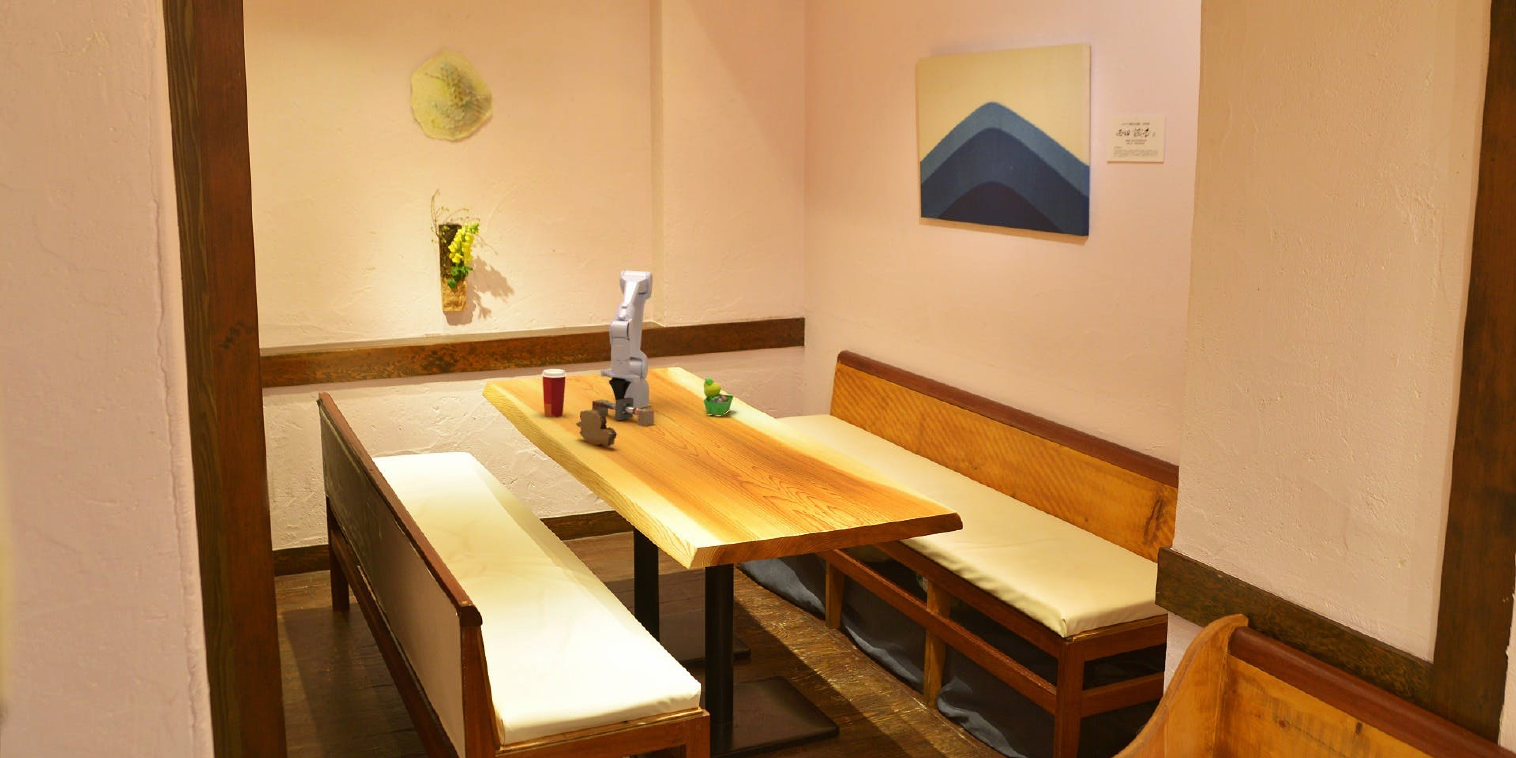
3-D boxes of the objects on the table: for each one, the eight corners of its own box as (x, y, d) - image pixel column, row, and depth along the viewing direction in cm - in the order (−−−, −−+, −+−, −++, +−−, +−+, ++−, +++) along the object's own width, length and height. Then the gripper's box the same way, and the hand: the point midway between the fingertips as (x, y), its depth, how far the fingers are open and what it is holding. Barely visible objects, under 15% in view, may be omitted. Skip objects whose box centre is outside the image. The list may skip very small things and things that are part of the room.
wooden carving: (621, 448, 365) (622, 414, 363) (609, 451, 362) (610, 416, 360) (583, 437, 376) (583, 404, 374) (571, 440, 372) (571, 406, 370)
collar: (615, 419, 398) (615, 400, 396) (628, 416, 402) (628, 397, 401) (620, 420, 396) (620, 401, 395) (633, 417, 401) (633, 398, 400)
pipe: (592, 414, 405) (592, 400, 404) (601, 412, 408) (601, 398, 407) (645, 426, 392) (645, 411, 391) (653, 424, 395) (654, 409, 394)
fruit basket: (725, 418, 407) (727, 383, 405) (698, 416, 409) (699, 381, 407) (733, 410, 418) (735, 376, 416) (707, 408, 420) (708, 374, 418)
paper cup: (568, 413, 405) (569, 369, 403) (562, 418, 398) (563, 374, 395) (544, 411, 406) (544, 368, 403) (537, 416, 399) (538, 372, 396)
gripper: (594, 357, 398) (593, 400, 401) (629, 364, 390) (628, 407, 392) (609, 354, 404) (609, 397, 406) (644, 361, 395) (643, 404, 398)
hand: (619, 402), depth 400 cm, fingers closed
